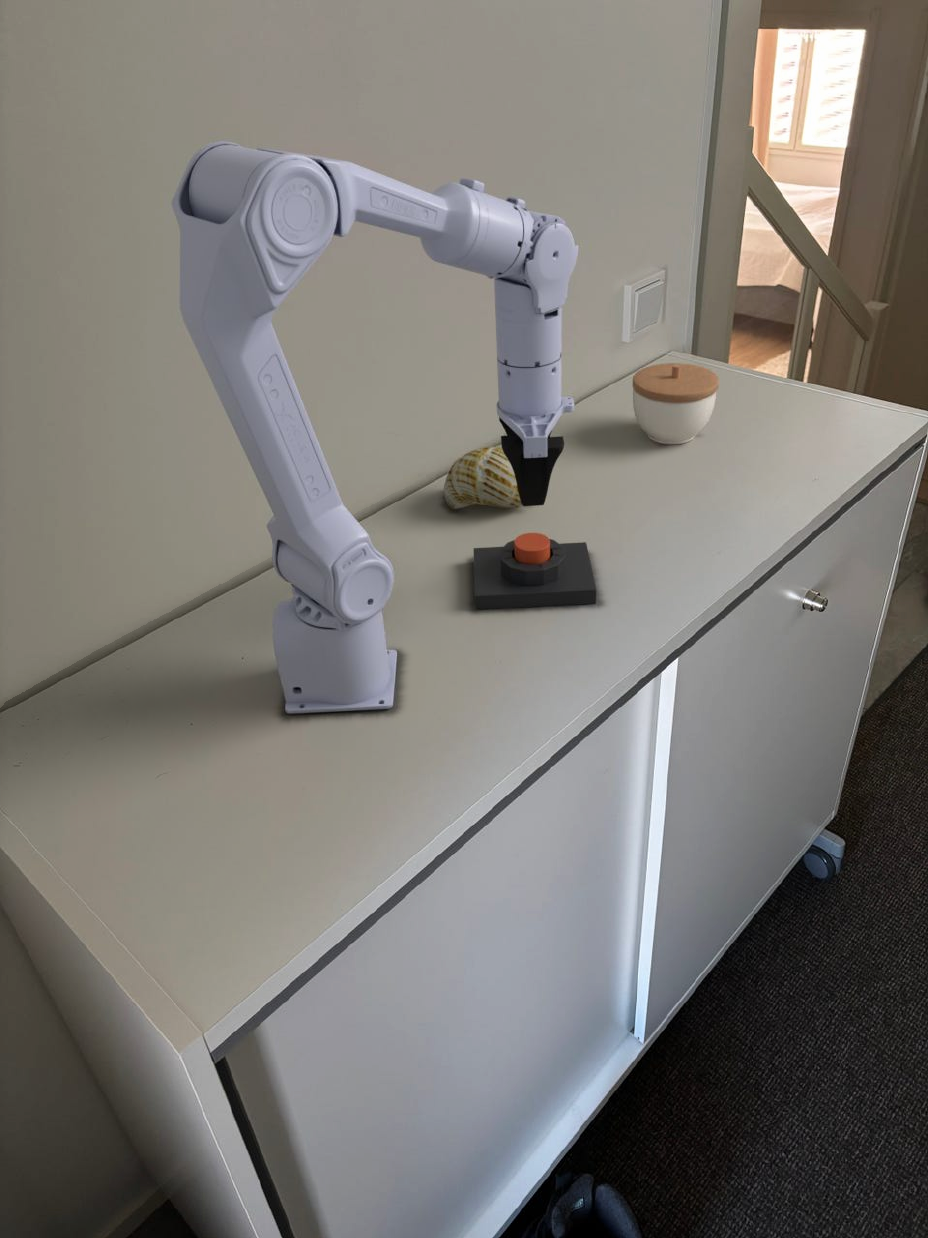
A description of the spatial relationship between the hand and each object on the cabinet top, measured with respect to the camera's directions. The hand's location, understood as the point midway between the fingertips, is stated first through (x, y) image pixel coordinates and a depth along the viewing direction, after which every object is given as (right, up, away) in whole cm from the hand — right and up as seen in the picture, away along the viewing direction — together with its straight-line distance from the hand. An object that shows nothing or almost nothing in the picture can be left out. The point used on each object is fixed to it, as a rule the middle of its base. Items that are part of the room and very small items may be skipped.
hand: (531, 492), depth 89 cm
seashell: (-3, +2, +21) cm, 21 cm away
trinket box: (+21, +12, +32) cm, 40 cm away
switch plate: (+1, -8, +6) cm, 10 cm away
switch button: (0, -6, +4) cm, 7 cm away
